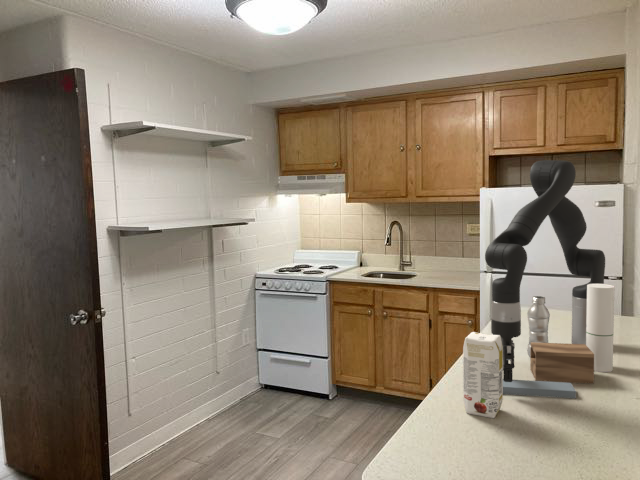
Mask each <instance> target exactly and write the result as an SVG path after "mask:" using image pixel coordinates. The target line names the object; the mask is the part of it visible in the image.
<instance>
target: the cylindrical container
mask: <svg viewBox="0 0 640 480" xmlns="http://www.w3.org/2000/svg"><path fill="white" fill-rule="evenodd" d="M614 321H615V285H613V284H605V283H604V284H588V285H587V318H586V346H587V347H588V348H589V349H590V350H591V351H592V352H593V353H594V372H598V373H611V372H612V371H613V369H614V368H613V367H614V366H613V365H614V364H613V363H614V361H613V360H614V326H615V322H614Z"/></svg>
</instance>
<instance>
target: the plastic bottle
mask: <svg viewBox="0 0 640 480" xmlns="http://www.w3.org/2000/svg"><path fill="white" fill-rule="evenodd" d="M531 303H532V305H531V306H530V307H529V308H528V310H527V313H526V314H527V316H526V317H527V321H528V330H529V332H528V335H529V336H528V344H527V348H526V351H527V355H528V357H529V358H530V349H531V342H535V343H549V336H548V334H549V332H548V331H549V323H550V316H551V314H550V311H549V309H548V308H547V306H546V305H545V304H546V297H545V296H540V295H536V296H535V295H533V296H532V300H531Z"/></svg>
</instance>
